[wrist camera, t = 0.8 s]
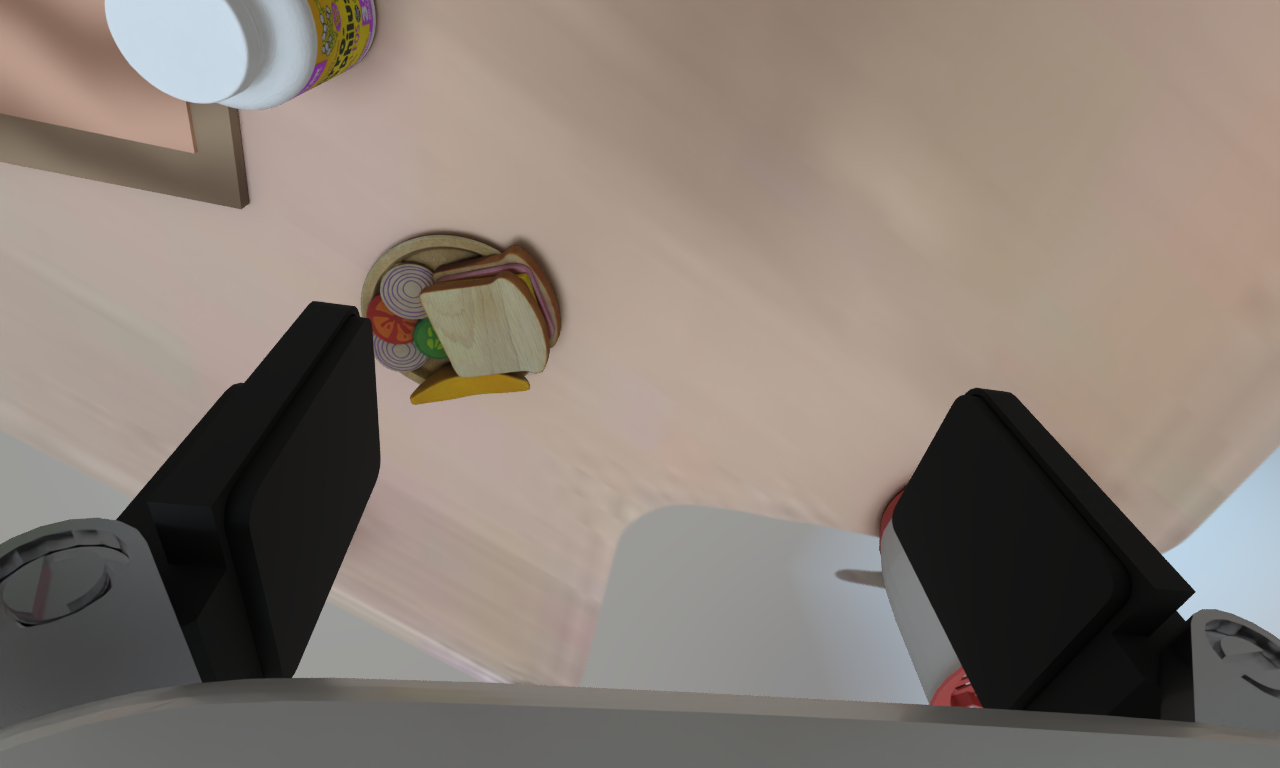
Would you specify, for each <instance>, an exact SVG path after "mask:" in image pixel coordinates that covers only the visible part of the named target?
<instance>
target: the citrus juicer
mask: <svg viewBox="0 0 1280 768" xmlns="http://www.w3.org/2000/svg"><path fill="white" fill-rule="evenodd" d="M904 490H905V489H904ZM904 490H903V491H902V492H901V493H900V494H898V495H897V496H896V497H895V498H894V499H893V501H892V502H891V503H890V504H889V505H888V507H887V509H886V510H885V512H884V514H883V517H882V521H881V527H880V547H879V550H880V554H881V561H882V562H881V563H882V573H883V578H884V583H885V589H886V592H887V595H888V598H889V601H890V604H891V608H892V611H893V613H894V617H895V620H896V622H897V625H898V627H899V630H900V632H901V635H902V637H903V640H904V642H905V645H906V647H907V649H908V652H909V655H910V657H911V659H912V662H913V665H914V667H915V670H916V672H917V675H918V677H919V680H920V682H921V684H922V687H923V690H924V692H925V695H926V697H927V699H928V702H929V705H937V706H954V707H970V706H971V707H973V708H983V707H982V705H981V703H980V701H979V699H978V697H977V695H976V693H975V691H974V689H973V687H972V685H971V683H970V681H969V679H968V677H967V675H966V673H965V671H964V669H963V667H962V665H961V663H960V661H959V659H958V657H957V655H956V653H955V651H954V649H953V647H952V645H951V643H950V641H949V639H948V637H947V635H946V633H945V631H944V629H943V627H942V625H941V623H940V621H939V619H938V617H937V615H936V613H935V611H934V609H933V607H932V605H931V603H930V601H929V599H928V597H927V595H926V593H925V591H924V589H923V587H922V585H921V583H920V581H919V579H918V577H917V575H916V573H915V571H914V569H913V567H912V565H911V563H910V561H909V559H908V557H907V555H906V553H905V551H904V549H903V547H902V545H901V543H900V541H899V539H898V537H897V535H896V533H895V531H894V529H893V525H892V514H893V510H894V508H895V506H896V504H897V502H898V501H899V499H900V497H901V495H902V494H903V492H904Z"/></svg>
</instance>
